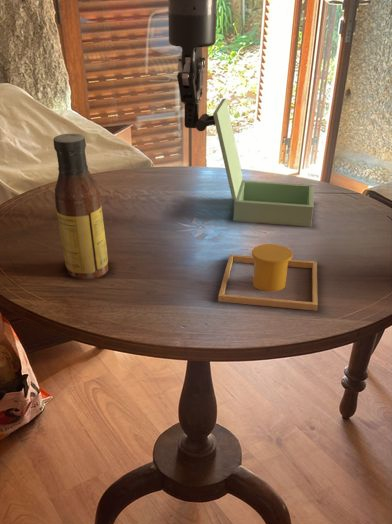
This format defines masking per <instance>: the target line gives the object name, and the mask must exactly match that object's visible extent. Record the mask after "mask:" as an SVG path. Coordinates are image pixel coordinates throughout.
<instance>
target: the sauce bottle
mask: <svg viewBox="0 0 392 524" xmlns="http://www.w3.org/2000/svg"><path fill="white" fill-rule="evenodd" d="M86 147H87V143H86V139H85V136H84V134H81V133H61V134H58V135H56V136H54V138H53V148H54V151H55V152H56V159H57V166H58V167H57V170H58V175H57V181H56V184H55V188H54V201H55V203H54V204H55V210H56V215H57V221H58V227H59V235H60V240H61V244H62V245H61V246H62V251H63V258H64V263H65V268H66V269H67V273H68V275H69V276H71V277H73V278H76V279H79V280H89V279H95V278H96V279H97V278H100V277H102V276H104V275H105V274H106V273H107V272H108V271H109V265H108V263H109V257H108V256H109V255H108V247H107V240H106V239H107V238H106V232H105V223H104V215H103V209H102V208H103V207H102V203H101V198H100V191H99V187H98V182H97V180H96V179H95V178H94V177H93V175H92V173H91V172H90V170H89V166H88V163H87V156H86Z"/></svg>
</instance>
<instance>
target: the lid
mask: <svg viewBox="0 0 392 524" xmlns="http://www.w3.org/2000/svg"><path fill="white" fill-rule="evenodd" d="M227 100H228V99H227V98H226V97H225V98H222V99H221V101H220V102H219V104H218V105H217V107H216V109H215V110H214V111H213V114H212V115H209V114H208V113H203V114H201V115H200V117H199V120H198V121H197V122H196V128H195V129H196V130H197V131H198V132H204V131H205V130H206V129H207V127H211V126H214V125H215V128H216V132H217V133H216V134H217V138H218V142H219V147H220V150H221V155H222V160H223V164H224V170H225V174H226V177H227V178H226V179H227V182H228V187H229V191H230V194H231V199H232V200H235V199H236V198H237V195H238V191H239V188H240V185H241V182H242V180H243V179H244V176H243V172H242V167H241V163H240V157H239V152H238V148H237V144H236V139H235V135H234V129H233V125H232V120H231V119H232V118H231V115H230V110H229V106H228V101H227Z"/></svg>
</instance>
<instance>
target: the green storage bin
mask: <svg viewBox="0 0 392 524" xmlns="http://www.w3.org/2000/svg"><path fill="white" fill-rule="evenodd" d="M314 203H315V201H314V185H313V184H301V183H300V184H299V183H285V182H272V181H259V180H258V181H256V180H243V179H242V182H241V185H240V188H239V191H238V195H237V198H236V199H234V201H233V216H232V217H233V218H232V221H233V222H242V223H243V222H245V223H256V224H270V225H281V226H283V225H284V226H293V227H295V226H297V227H307V228H308V227H312V220H313V214H314Z"/></svg>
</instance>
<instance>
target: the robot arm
mask: <svg viewBox="0 0 392 524" xmlns="http://www.w3.org/2000/svg"><path fill="white" fill-rule="evenodd" d="M217 4H218V0H167V6H168V7H167V8H168V10H167V11H168V13H167V14H168V17H167V18H168V43H169V45H171V46H174V47H179V48H181V50H182V51H181V56H180V57H181V58H178V61H177V70H178V72H177V75H176V78H177V84H178V91H179V95H180V102H181V103H183V105H184V127H185V128H187V129H196V122H197V121H198V120H199V118H200V117H199V116H200V115H199V113H200V107H199V106H200V103H201V99H202V97H203V88H204V83H205V81H204V80H205V79H204V78H205V71H206V65H207V64H206V63H207V62H206V59H207V58H206V57H203V48H209V47H212V46H214V45H215V44H216V41H217V11H218V9H217V8H218V7H217V6H218V5H217Z"/></svg>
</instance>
